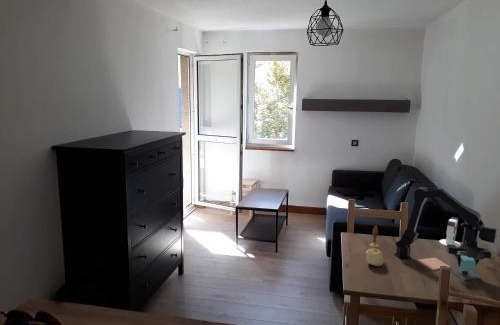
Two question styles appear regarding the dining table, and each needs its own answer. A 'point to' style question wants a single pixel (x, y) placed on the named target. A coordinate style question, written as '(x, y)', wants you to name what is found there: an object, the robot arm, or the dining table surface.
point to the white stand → (451, 233)
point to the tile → (433, 263)
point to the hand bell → (374, 240)
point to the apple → (375, 257)
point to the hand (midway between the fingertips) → (465, 267)
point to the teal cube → (467, 264)
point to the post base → (465, 274)
